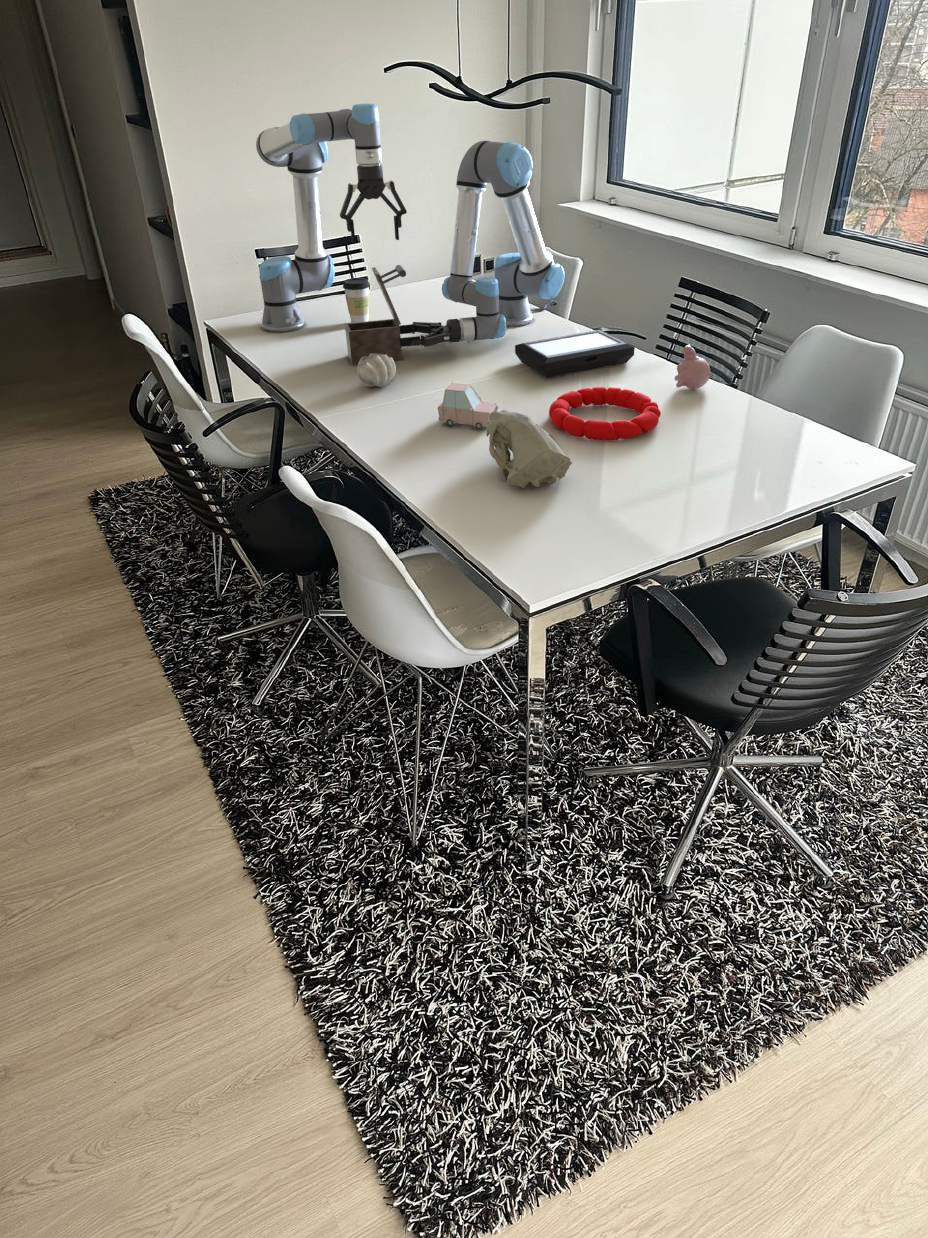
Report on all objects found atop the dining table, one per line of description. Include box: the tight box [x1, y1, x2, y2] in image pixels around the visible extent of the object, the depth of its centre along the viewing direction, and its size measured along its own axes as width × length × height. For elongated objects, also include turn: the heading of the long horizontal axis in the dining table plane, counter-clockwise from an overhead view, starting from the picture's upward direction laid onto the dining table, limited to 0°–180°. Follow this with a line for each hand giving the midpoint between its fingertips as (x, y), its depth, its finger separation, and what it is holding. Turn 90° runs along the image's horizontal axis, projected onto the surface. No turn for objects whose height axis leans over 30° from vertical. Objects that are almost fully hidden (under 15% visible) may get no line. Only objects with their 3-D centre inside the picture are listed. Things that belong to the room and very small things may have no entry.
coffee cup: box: [342, 277, 371, 323], centre depth 323 cm, size 10×10×15 cm
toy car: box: [437, 382, 499, 431], centre depth 243 cm, size 9×15×10 cm, turn 70°
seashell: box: [356, 353, 397, 388], centre depth 269 cm, size 10×15×10 cm
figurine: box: [674, 344, 711, 390], centre depth 259 cm, size 9×11×12 cm
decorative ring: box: [548, 386, 661, 442], centre depth 242 cm, size 7×30×30 cm
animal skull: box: [485, 409, 573, 489], centre depth 216 cm, size 17×25×20 cm
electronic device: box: [514, 329, 636, 379], centre depth 282 cm, size 32×6×20 cm
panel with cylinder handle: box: [371, 264, 407, 326], centre depth 284 cm, size 17×10×9 cm
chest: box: [344, 318, 403, 366], centre depth 291 cm, size 17×10×11 cm, turn 104°
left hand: (375, 240), depth 274 cm, fingers open, 13 cm apart
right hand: (396, 336), depth 292 cm, fingers open, 13 cm apart
